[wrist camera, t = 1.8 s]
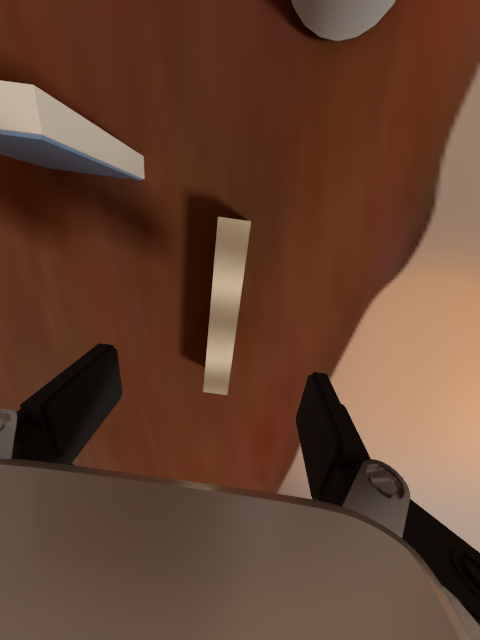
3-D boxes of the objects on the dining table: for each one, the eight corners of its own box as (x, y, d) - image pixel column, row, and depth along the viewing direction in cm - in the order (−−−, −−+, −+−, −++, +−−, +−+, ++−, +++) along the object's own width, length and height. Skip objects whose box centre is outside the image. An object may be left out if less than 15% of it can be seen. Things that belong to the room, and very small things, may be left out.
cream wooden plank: (230, 371, 26) (227, 395, 22) (209, 368, 26) (203, 391, 22) (250, 222, 20) (250, 221, 16) (224, 218, 20) (218, 216, 16)
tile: (144, 181, 19) (43, 138, 10) (49, 168, 19) (-145, 114, 10) (143, 156, 18) (33, 84, 9) (44, 143, 18) (-169, 58, 9)
